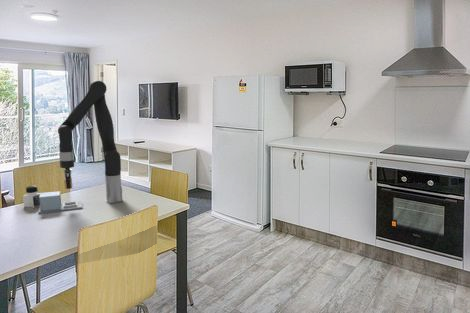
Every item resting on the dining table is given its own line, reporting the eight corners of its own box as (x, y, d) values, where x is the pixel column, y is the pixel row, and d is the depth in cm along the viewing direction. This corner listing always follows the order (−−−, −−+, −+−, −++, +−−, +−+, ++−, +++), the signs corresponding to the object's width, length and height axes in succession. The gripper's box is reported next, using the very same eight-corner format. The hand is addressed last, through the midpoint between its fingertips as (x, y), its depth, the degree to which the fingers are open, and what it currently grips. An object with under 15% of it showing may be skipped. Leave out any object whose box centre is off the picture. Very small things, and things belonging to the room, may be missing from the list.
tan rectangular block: (72, 186, 214) (71, 177, 213) (72, 188, 211) (71, 178, 210) (64, 187, 213) (64, 177, 212) (64, 189, 209) (64, 179, 208)
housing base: (81, 203, 222) (81, 199, 221) (82, 208, 211) (82, 205, 211) (40, 207, 212) (39, 204, 212) (38, 213, 201) (38, 210, 201)
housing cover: (61, 204, 216) (60, 191, 214) (60, 208, 207) (59, 195, 206) (41, 206, 211) (40, 193, 210) (40, 211, 203) (39, 197, 201)
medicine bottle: (34, 207, 213) (32, 188, 211) (23, 206, 214) (21, 187, 212) (42, 204, 220) (40, 185, 218) (32, 203, 221) (30, 184, 219)
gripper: (74, 160, 204) (75, 189, 207) (73, 157, 217) (75, 184, 220) (59, 161, 201) (61, 191, 204) (59, 157, 214) (61, 185, 216)
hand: (68, 187), depth 212 cm, fingers closed on tan rectangular block, 4 cm apart
